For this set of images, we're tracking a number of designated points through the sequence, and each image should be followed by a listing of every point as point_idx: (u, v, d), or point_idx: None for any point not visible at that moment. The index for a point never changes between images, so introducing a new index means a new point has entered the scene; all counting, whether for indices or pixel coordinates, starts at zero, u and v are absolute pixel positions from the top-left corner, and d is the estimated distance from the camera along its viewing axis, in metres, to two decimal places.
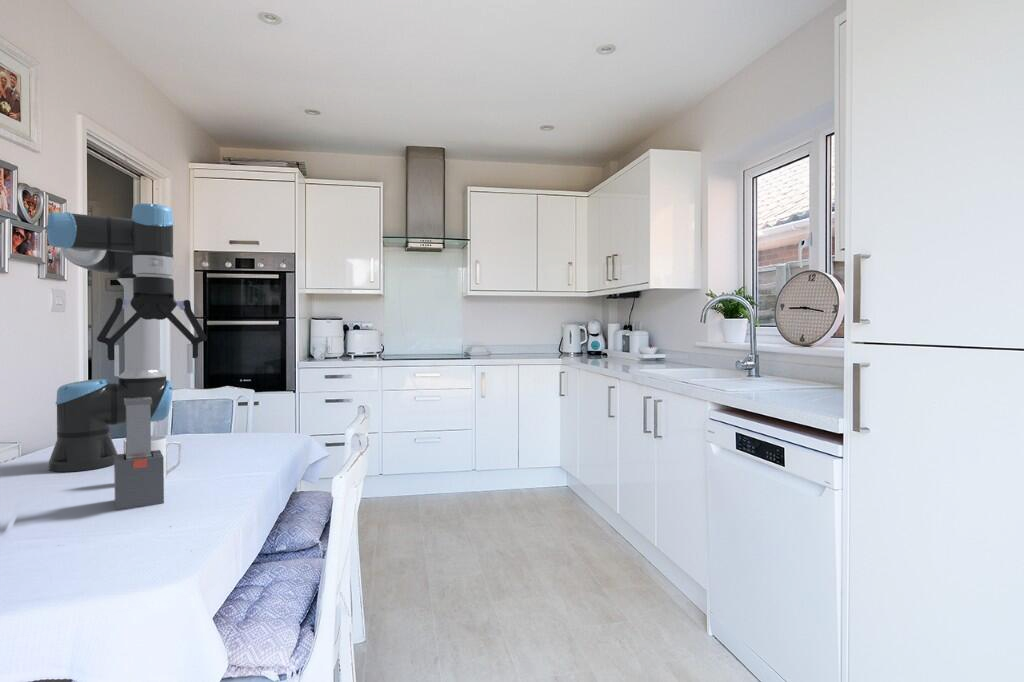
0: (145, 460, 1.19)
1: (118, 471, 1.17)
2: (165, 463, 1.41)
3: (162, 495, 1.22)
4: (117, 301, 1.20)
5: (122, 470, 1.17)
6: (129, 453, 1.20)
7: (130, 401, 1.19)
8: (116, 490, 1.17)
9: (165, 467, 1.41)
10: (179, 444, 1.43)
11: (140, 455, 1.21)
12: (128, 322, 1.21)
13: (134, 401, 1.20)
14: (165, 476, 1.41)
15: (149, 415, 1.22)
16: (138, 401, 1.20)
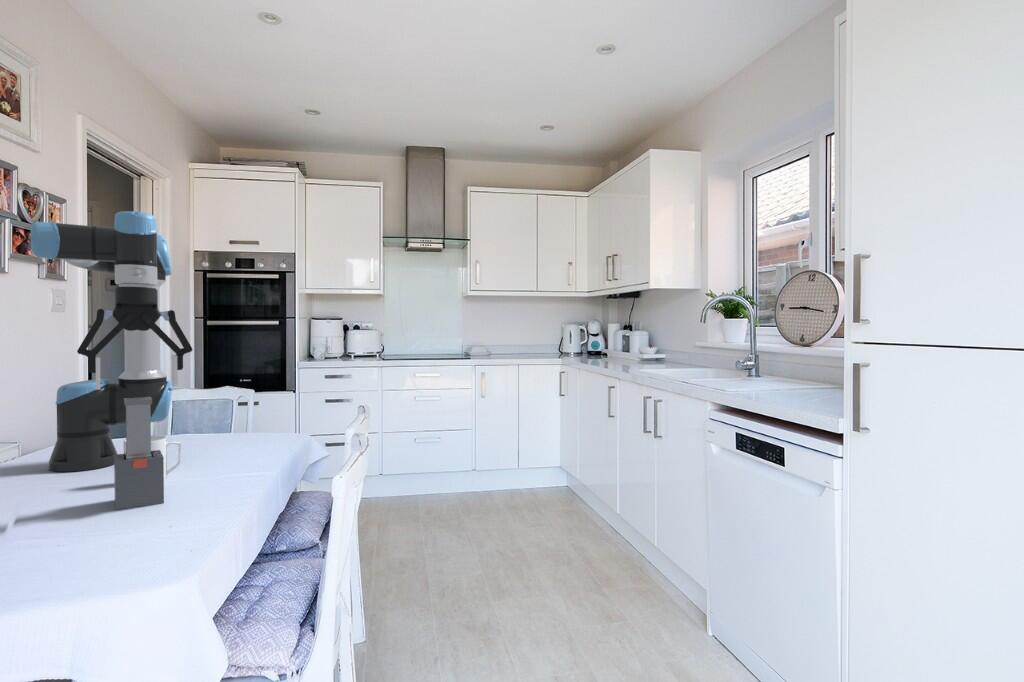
0: (145, 460, 1.19)
1: (118, 471, 1.17)
2: (165, 463, 1.41)
3: (162, 495, 1.22)
4: (98, 312, 1.17)
5: (122, 470, 1.17)
6: (129, 453, 1.20)
7: (130, 401, 1.19)
8: (116, 490, 1.17)
9: (165, 467, 1.41)
10: (179, 444, 1.43)
11: (140, 455, 1.21)
12: (110, 333, 1.18)
13: (134, 401, 1.20)
14: (165, 476, 1.41)
15: (149, 415, 1.22)
16: (138, 401, 1.20)
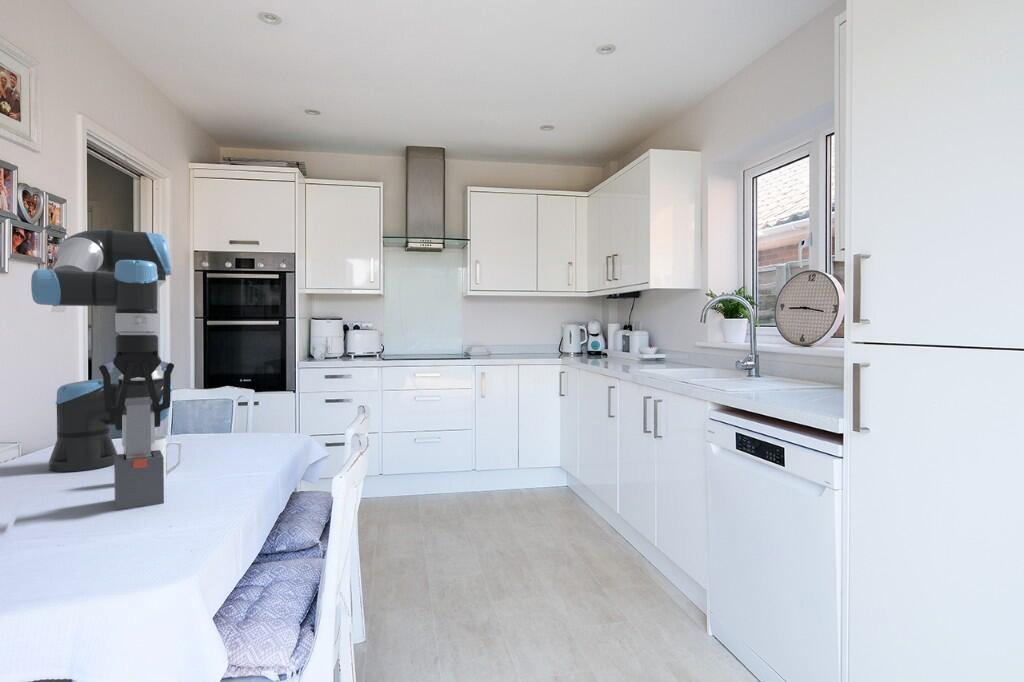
0: (145, 460, 1.19)
1: (118, 471, 1.17)
2: (165, 463, 1.41)
3: (162, 495, 1.22)
4: (101, 369, 1.17)
5: (122, 470, 1.17)
6: (129, 453, 1.20)
7: (130, 401, 1.19)
8: (116, 490, 1.17)
9: (165, 467, 1.41)
10: (179, 444, 1.43)
11: (140, 455, 1.21)
12: (123, 387, 1.19)
13: (134, 401, 1.20)
14: (165, 476, 1.41)
15: (149, 415, 1.22)
16: (138, 401, 1.20)
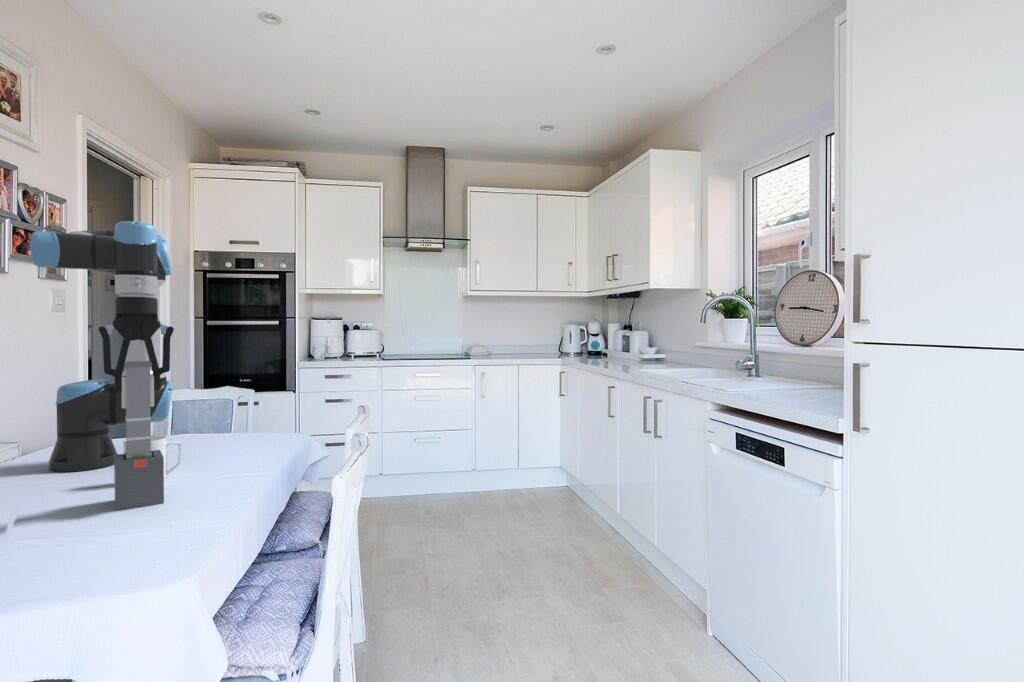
0: (145, 460, 1.19)
1: (118, 471, 1.17)
2: (165, 463, 1.41)
3: (162, 495, 1.22)
4: (100, 330, 1.17)
5: (122, 470, 1.17)
6: (129, 415, 1.19)
7: (130, 363, 1.19)
8: (116, 490, 1.17)
9: (165, 467, 1.41)
10: (179, 444, 1.43)
11: (140, 417, 1.21)
12: (122, 349, 1.19)
13: (134, 363, 1.19)
14: (165, 476, 1.41)
15: (149, 378, 1.21)
16: (138, 363, 1.20)
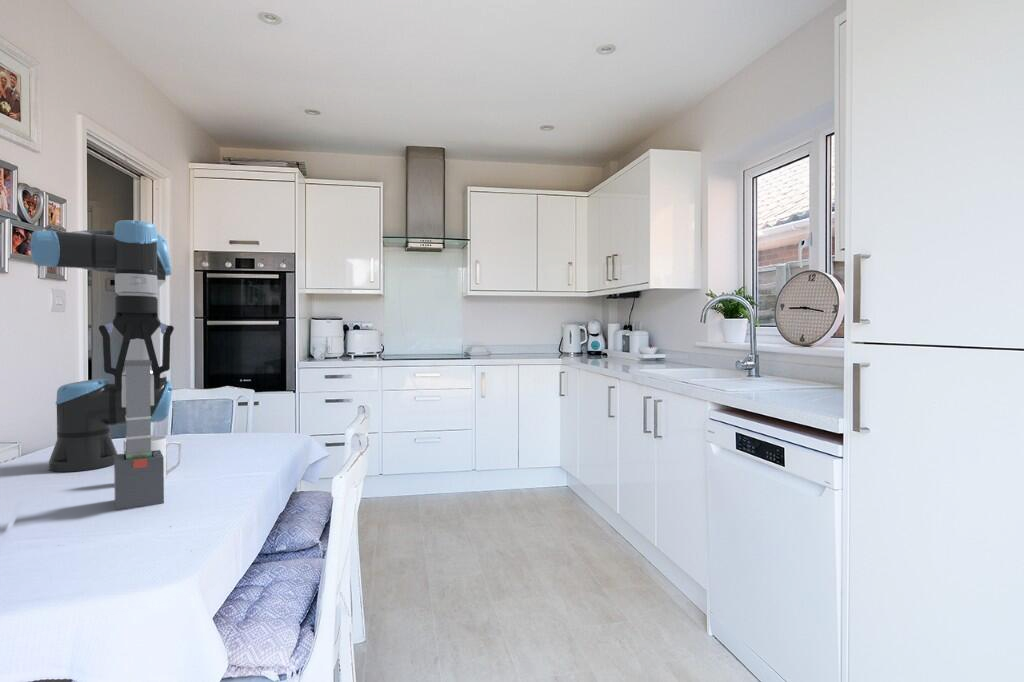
0: (145, 460, 1.19)
1: (118, 471, 1.17)
2: (165, 463, 1.41)
3: (162, 495, 1.22)
4: (100, 329, 1.17)
5: (122, 470, 1.17)
6: (129, 414, 1.19)
7: (130, 362, 1.19)
8: (116, 490, 1.17)
9: (165, 467, 1.41)
10: (179, 444, 1.43)
11: (140, 416, 1.21)
12: (122, 348, 1.19)
13: (134, 362, 1.19)
14: (165, 476, 1.41)
15: (149, 377, 1.21)
16: (138, 362, 1.20)
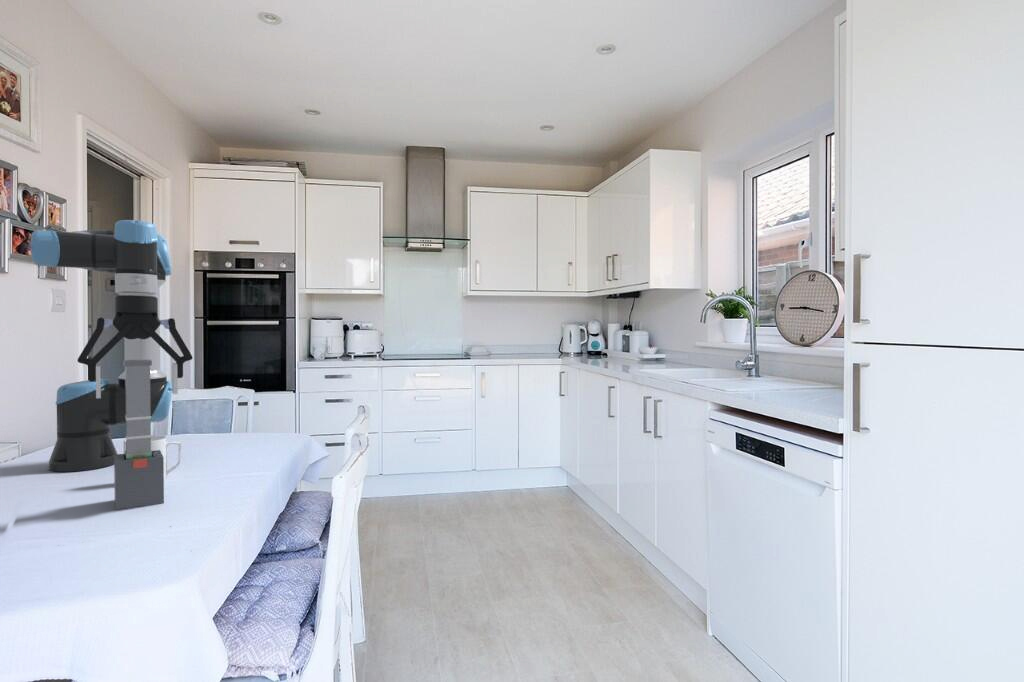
0: (145, 460, 1.19)
1: (118, 471, 1.17)
2: (165, 463, 1.41)
3: (162, 495, 1.22)
4: (98, 321, 1.17)
5: (122, 470, 1.17)
6: (129, 414, 1.19)
7: (130, 362, 1.19)
8: (116, 490, 1.17)
9: (165, 467, 1.41)
10: (179, 444, 1.43)
11: (140, 416, 1.21)
12: (110, 342, 1.18)
13: (134, 362, 1.19)
14: (165, 476, 1.41)
15: (149, 376, 1.21)
16: (138, 362, 1.20)
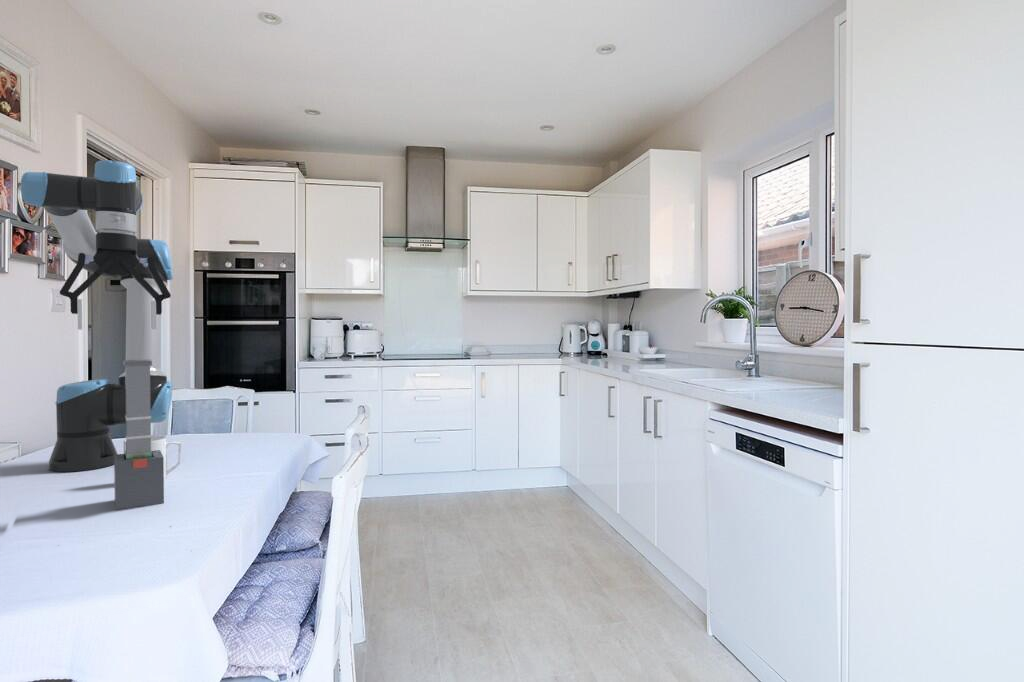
0: (145, 460, 1.19)
1: (118, 471, 1.17)
2: (165, 463, 1.41)
3: (162, 495, 1.22)
4: (80, 256, 1.23)
5: (122, 470, 1.17)
6: (129, 414, 1.19)
7: (130, 362, 1.19)
8: (116, 490, 1.17)
9: (165, 467, 1.41)
10: (179, 444, 1.43)
11: (140, 416, 1.21)
12: (91, 277, 1.24)
13: (134, 362, 1.19)
14: (165, 476, 1.41)
15: (149, 376, 1.21)
16: (138, 362, 1.20)
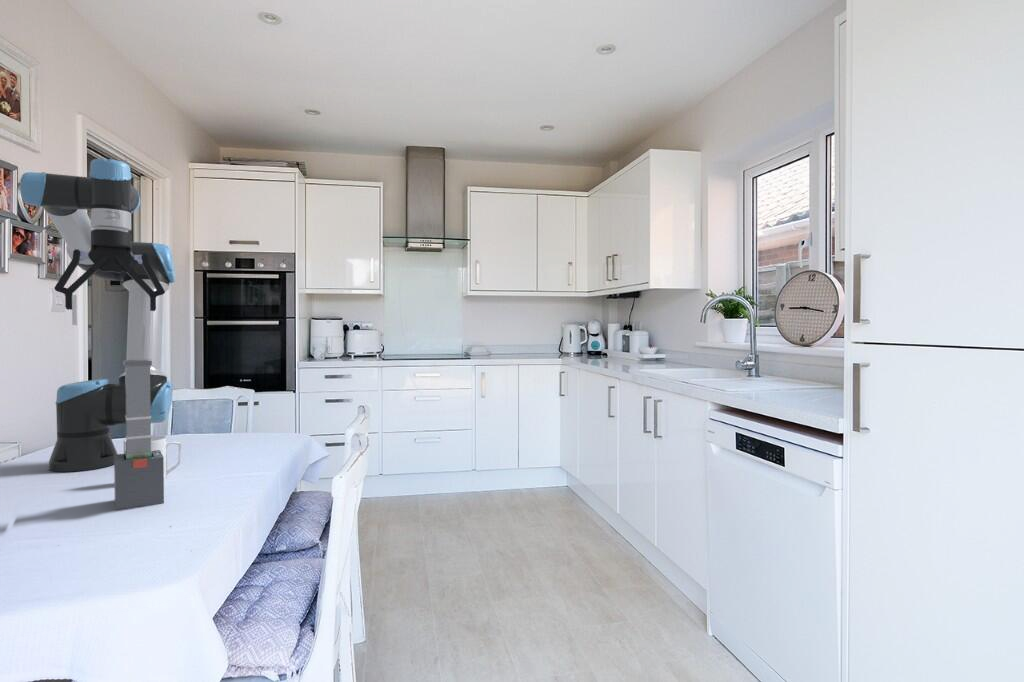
0: (145, 460, 1.19)
1: (118, 471, 1.17)
2: (165, 463, 1.41)
3: (162, 495, 1.22)
4: (74, 252, 1.24)
5: (122, 470, 1.17)
6: (129, 414, 1.19)
7: (130, 362, 1.19)
8: (116, 490, 1.17)
9: (165, 467, 1.41)
10: (179, 444, 1.43)
11: (140, 416, 1.21)
12: (85, 273, 1.26)
13: (134, 362, 1.19)
14: (165, 476, 1.41)
15: (149, 376, 1.21)
16: (138, 362, 1.20)
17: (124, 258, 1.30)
